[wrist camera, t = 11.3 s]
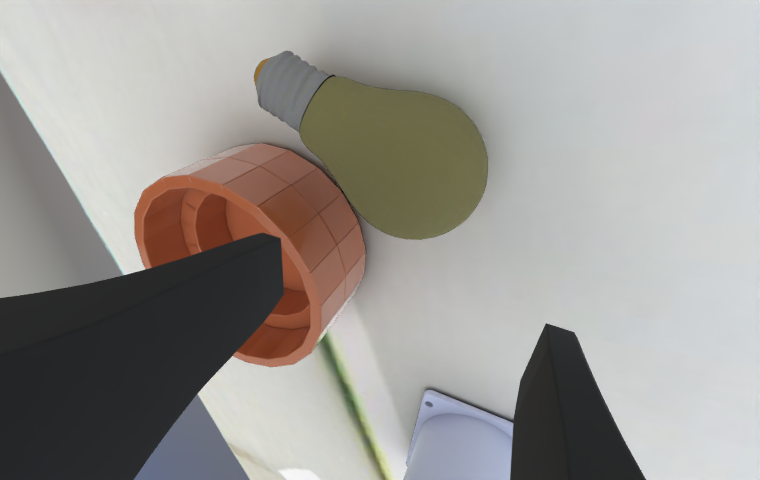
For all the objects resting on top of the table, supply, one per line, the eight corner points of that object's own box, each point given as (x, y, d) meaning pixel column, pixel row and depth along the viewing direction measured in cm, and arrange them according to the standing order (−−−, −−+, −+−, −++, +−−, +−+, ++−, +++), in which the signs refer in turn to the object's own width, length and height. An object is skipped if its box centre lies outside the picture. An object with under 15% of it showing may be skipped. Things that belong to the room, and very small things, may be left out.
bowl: (362, 328, 25) (319, 395, 21) (222, 275, 28) (160, 324, 24) (377, 167, 19) (322, 214, 15) (197, 122, 22) (108, 150, 18)
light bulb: (211, 159, 16) (421, 289, 16) (212, 29, 11) (502, 212, 11) (287, 96, 19) (458, 204, 19) (310, -22, 15) (531, 120, 15)
